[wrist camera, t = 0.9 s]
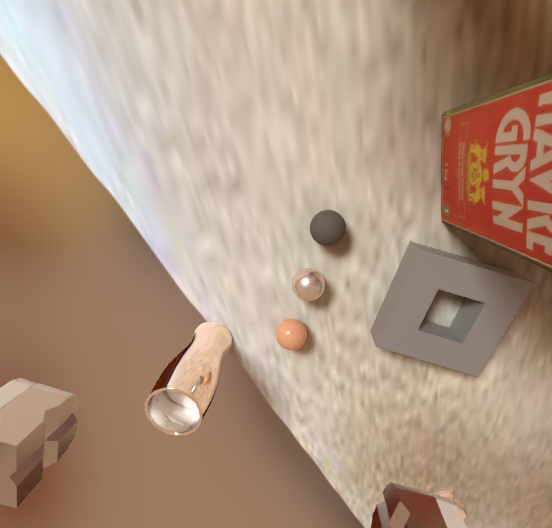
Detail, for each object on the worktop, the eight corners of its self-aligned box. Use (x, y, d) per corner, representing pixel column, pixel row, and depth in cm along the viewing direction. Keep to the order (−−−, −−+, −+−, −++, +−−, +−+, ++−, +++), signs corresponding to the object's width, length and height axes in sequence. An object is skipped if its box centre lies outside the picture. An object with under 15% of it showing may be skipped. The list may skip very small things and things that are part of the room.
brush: (408, 508, 55) (412, 521, 53) (437, 479, 53) (442, 492, 51) (453, 529, 56) (459, 542, 54) (484, 502, 53) (491, 515, 51)
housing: (410, 241, 40) (420, 249, 36) (513, 272, 40) (535, 283, 36) (370, 330, 45) (376, 346, 41) (463, 358, 44) (477, 376, 41)
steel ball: (297, 259, 42) (296, 270, 38) (328, 269, 42) (330, 280, 38) (288, 287, 44) (286, 301, 40) (318, 296, 44) (319, 310, 40)
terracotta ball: (282, 309, 45) (279, 324, 41) (310, 318, 45) (311, 334, 41) (274, 334, 46) (270, 351, 42) (301, 342, 46) (301, 360, 42)
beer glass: (200, 360, 49) (156, 440, 35) (185, 323, 47) (132, 391, 33) (240, 353, 48) (212, 433, 34) (227, 314, 46) (191, 382, 32)
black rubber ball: (315, 203, 40) (316, 208, 36) (348, 213, 40) (353, 219, 35) (305, 235, 41) (305, 243, 37) (337, 244, 41) (340, 254, 37)
